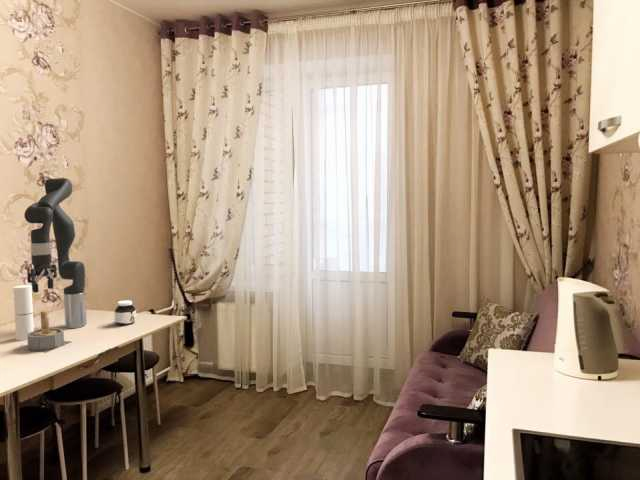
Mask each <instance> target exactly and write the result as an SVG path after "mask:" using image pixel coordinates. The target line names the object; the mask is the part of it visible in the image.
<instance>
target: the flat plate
mask: <svg viewBox="0 0 640 480" xmlns="http://www.w3.org/2000/svg"><path fill="white" fill-rule="evenodd" d="M70 343H73V341H67V340H64V343H63V345H62V346H60V347H58V348H61V347H63V346H66V345H69V344H70ZM58 348H54V349H50V350H42V351H33V350H29V349H28V346H26V347H24V348H20V349H18V351H21V352H33V353H49V352H51V351H53V350H56V349H58Z"/></svg>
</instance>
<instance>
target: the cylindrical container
mask: <svg viewBox="0 0 640 480" xmlns="http://www.w3.org/2000/svg"><path fill="white" fill-rule="evenodd" d="M13 303H14V307H13V308H14V321H15V322H14V323H15V338H16V341H23V342H24V341H27V333H29V332H32V331H35V330H34V329H35V327H34V307H33V290H32V284H31V285H30V284H25V285H24V284H23V285H15V286H13Z"/></svg>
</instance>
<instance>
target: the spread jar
mask: <svg viewBox="0 0 640 480" xmlns="http://www.w3.org/2000/svg"><path fill="white" fill-rule="evenodd" d="M136 319H137V309H136V307H135V306H134V305H133V301H132V300H120V301H118V302H117V306H116V307H115V309H114V321H115V323H116V324H117V325H119V326H120V327H121V326H123V327H124V326H125V325H126V326H131V325H133V324H134V323H135V322H136ZM126 326H125V327H126Z"/></svg>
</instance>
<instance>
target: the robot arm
mask: <svg viewBox="0 0 640 480" xmlns="http://www.w3.org/2000/svg"><path fill="white" fill-rule="evenodd" d="M44 191H45V194H44V195H43V196H42V197H41V198H39V200H38V201H37V202H35V203H32V204H31V205H29V206H28V207H27V208H26V209H25V211H24V219H25V220H26V222H27V223H29V224H42V225H41V227H39V228H34V229H31V231H30V241H31V242H30V243H31V244H30V254H31V259H30V260H31V265H33V268H28V269H27V271H26V272H27V276H26V277H27V283H29V284H31V286H32V293H39V291H40V290H39V281H40V280H41V279H42V278H43V277H45V278H46V279H47V289H51V290H52V289H54V280H55V279H56V278H57V277H58V274H59V277H60V278H61V279H62V280H69V281H70V280H72V284H71V285H68V286H65V287H64V288H63V302H64V303H63V304H64V305H63V306H64V324H65V325H64V326H65V328H66V329H78V328H82V327H85V326H86V325H87V308H86V304H85V285H86V268H85V264H84V263H83V262H82V261H78V260H77V261H74V260H73V261H71V260H70V257H69V253H70V249H71V247H72V244H73V242H74V241H75V237H76V232H75V231H76V230H75V224H74V221H73V220H72V218H71V217H70V216H69V215H68V214H67V213H66V212H65V211H64V210H63V209H62V207H61V206H60V204H61V203H63V201H65V200H66V199H68V198H69V197H70V196H71V195H72V193H73V184H72V182H71V180H70V179H69V178H65V177H61V178H47V179H46V180H45V182H44ZM51 226H52V230H53V235H54V240H55V247H56V253H57V265H56V264H54V263H53V264H52V261H53V260H52V246H51V240H50V239H51V237H50V233H51ZM57 267H58V268H57ZM57 269H58V270H57ZM57 271H58V274H57Z"/></svg>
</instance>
